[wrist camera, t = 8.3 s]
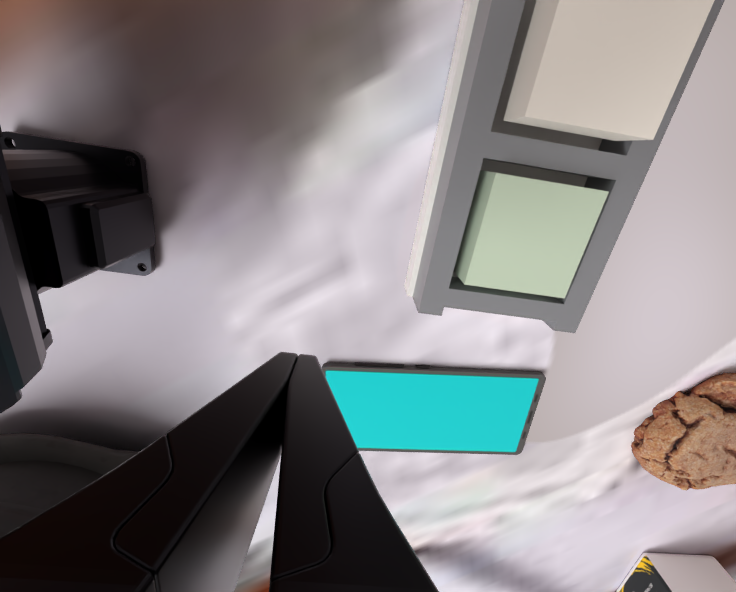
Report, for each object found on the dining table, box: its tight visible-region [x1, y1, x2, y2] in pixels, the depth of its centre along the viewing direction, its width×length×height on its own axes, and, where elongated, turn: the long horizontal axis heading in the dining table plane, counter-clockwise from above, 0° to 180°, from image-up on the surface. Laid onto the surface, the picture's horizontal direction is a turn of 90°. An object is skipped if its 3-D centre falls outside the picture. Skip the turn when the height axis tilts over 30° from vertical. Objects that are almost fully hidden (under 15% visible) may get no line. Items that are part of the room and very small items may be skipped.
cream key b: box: [503, 0, 715, 141], centre depth 12 cm, size 5×5×2 cm
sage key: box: [454, 170, 609, 298], centre depth 16 cm, size 5×5×2 cm
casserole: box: [0, 433, 138, 538], centre depth 23 cm, size 25×19×8 cm
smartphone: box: [322, 363, 546, 455], centre depth 24 cm, size 7×1×15 cm
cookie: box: [631, 373, 736, 490], centre depth 24 cm, size 10×11×3 cm
